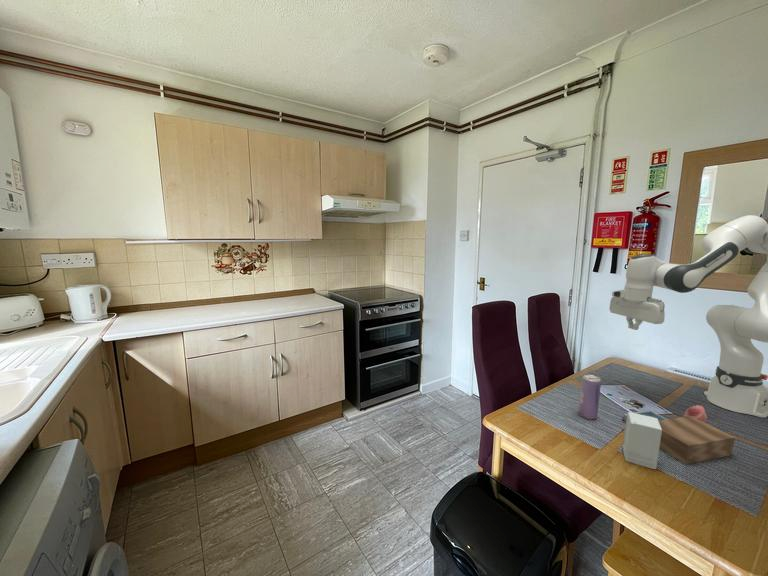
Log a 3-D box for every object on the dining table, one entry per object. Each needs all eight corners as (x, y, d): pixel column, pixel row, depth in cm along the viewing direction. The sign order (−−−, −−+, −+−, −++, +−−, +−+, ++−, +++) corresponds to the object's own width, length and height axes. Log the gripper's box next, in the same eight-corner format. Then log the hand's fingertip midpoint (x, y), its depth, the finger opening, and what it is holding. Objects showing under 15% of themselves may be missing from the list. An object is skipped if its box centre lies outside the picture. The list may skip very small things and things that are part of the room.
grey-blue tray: (649, 416, 120) (650, 410, 119) (709, 449, 101) (711, 442, 101) (622, 420, 117) (623, 414, 117) (679, 454, 99) (681, 447, 98)
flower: (714, 408, 114) (698, 397, 115) (716, 426, 109) (700, 415, 110) (692, 415, 120) (677, 405, 121) (693, 432, 115) (678, 422, 116)
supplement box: (656, 470, 92) (662, 430, 90) (624, 461, 96) (629, 422, 94) (652, 455, 99) (658, 417, 97) (622, 447, 102) (627, 410, 100)
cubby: (687, 432, 110) (690, 415, 109) (731, 455, 99) (735, 437, 98) (645, 439, 106) (647, 422, 106) (685, 464, 95) (688, 445, 94)
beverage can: (600, 420, 117) (604, 382, 115) (581, 419, 118) (586, 380, 116) (592, 412, 123) (597, 375, 120) (575, 410, 124) (579, 373, 121)
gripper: (671, 300, 118) (666, 336, 121) (620, 290, 138) (616, 321, 140) (658, 300, 117) (652, 337, 119) (608, 291, 137) (604, 322, 139)
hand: (633, 328), depth 130 cm, fingers closed
